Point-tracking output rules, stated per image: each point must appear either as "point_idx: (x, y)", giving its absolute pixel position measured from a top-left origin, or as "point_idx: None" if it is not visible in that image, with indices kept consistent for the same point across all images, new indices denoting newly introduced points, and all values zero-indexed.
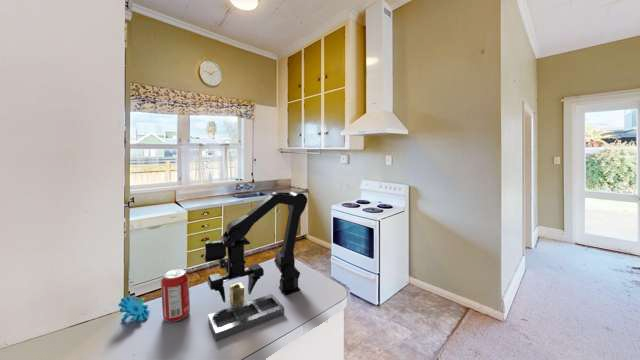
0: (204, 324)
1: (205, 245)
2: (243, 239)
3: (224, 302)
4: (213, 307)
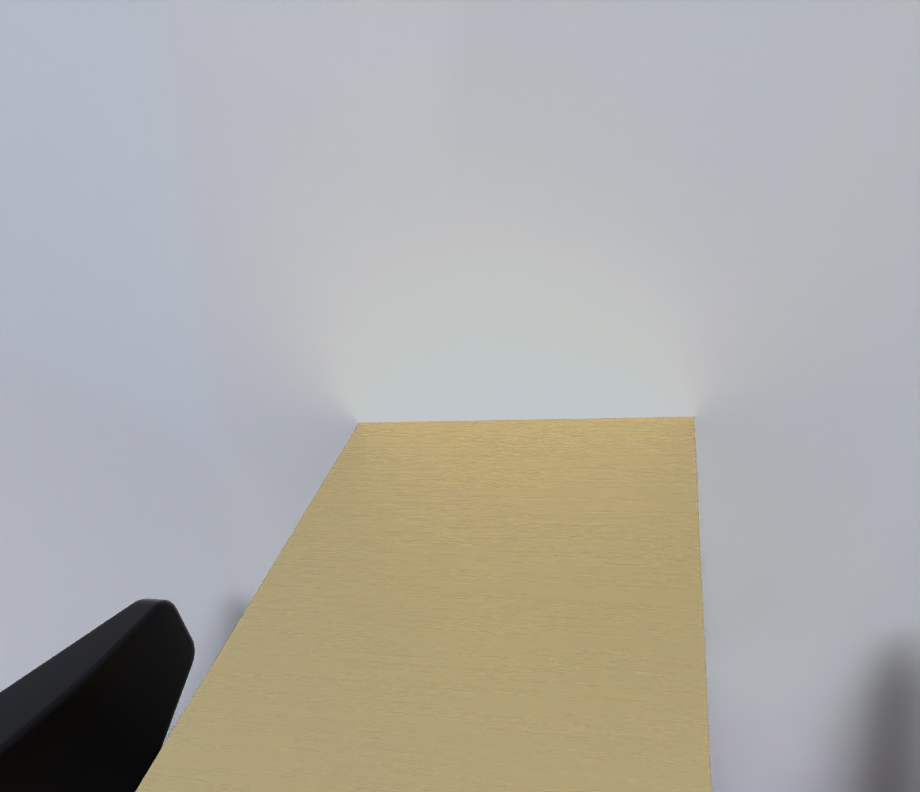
0: None
1: None
2: None
3: (186, 648)
4: (15, 469)
